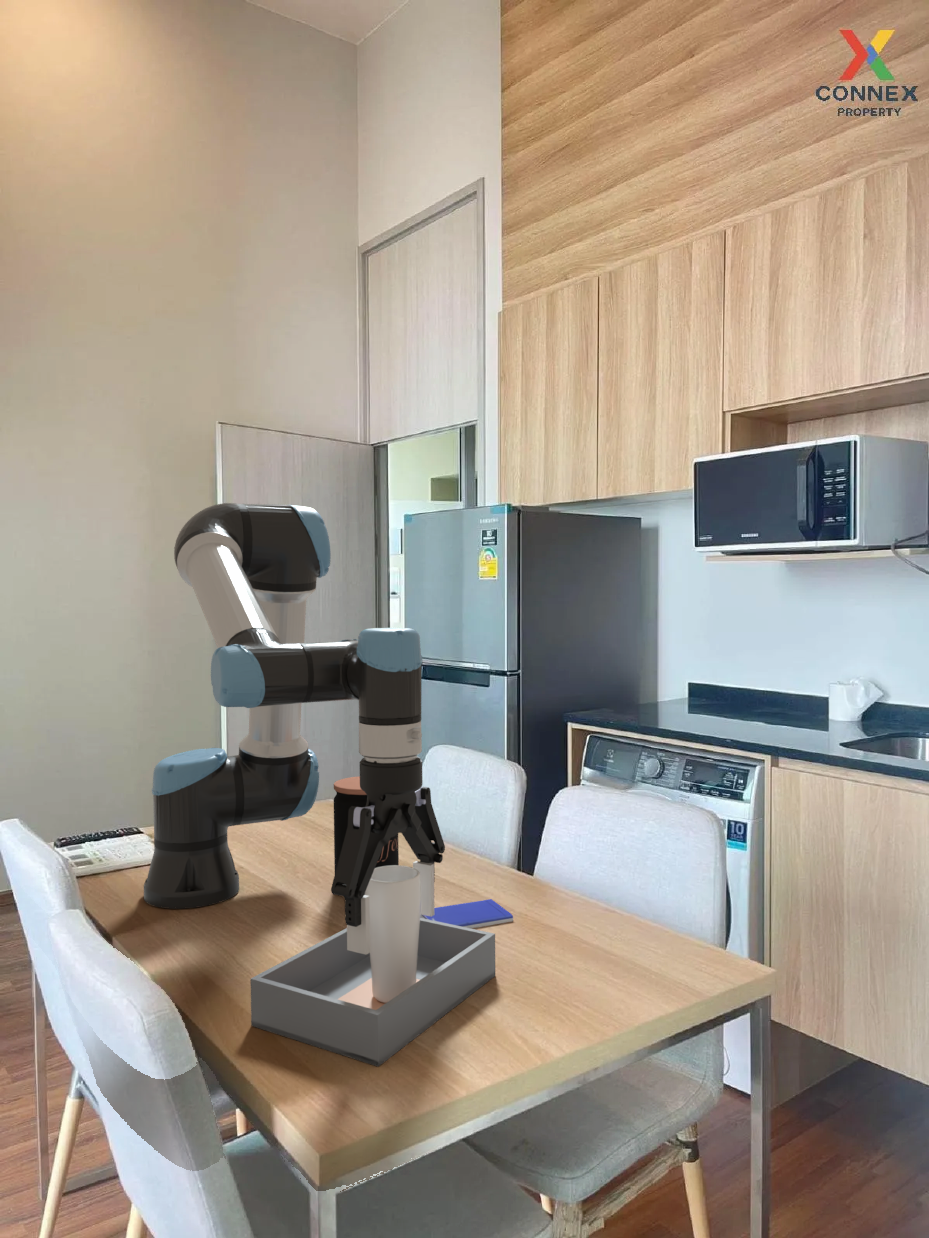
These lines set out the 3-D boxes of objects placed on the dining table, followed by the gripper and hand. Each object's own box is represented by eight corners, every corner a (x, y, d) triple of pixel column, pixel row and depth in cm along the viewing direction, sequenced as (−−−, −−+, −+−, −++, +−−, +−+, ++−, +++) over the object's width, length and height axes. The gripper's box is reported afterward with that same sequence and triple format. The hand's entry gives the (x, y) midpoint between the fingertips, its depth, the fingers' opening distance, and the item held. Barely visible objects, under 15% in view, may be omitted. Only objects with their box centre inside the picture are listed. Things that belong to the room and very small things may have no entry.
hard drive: (436, 927, 131) (513, 914, 136) (417, 909, 138) (490, 897, 143) (436, 938, 131) (513, 924, 136) (417, 919, 138) (490, 907, 143)
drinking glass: (367, 984, 112) (365, 865, 112) (421, 982, 113) (419, 863, 112) (365, 1010, 106) (363, 883, 105) (423, 1007, 106) (421, 881, 106)
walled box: (251, 1025, 104) (250, 978, 104) (382, 948, 126) (381, 909, 126) (378, 1066, 95) (377, 1014, 94) (495, 975, 117) (495, 933, 116)
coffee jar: (347, 904, 144) (346, 792, 143) (326, 884, 153) (324, 779, 153) (409, 893, 149) (408, 784, 148) (384, 875, 158) (383, 773, 158)
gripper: (351, 779, 96) (354, 976, 96) (470, 743, 117) (471, 905, 118) (297, 772, 99) (300, 962, 100) (422, 738, 121) (423, 895, 121)
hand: (393, 931), depth 109 cm, fingers open, 13 cm apart
